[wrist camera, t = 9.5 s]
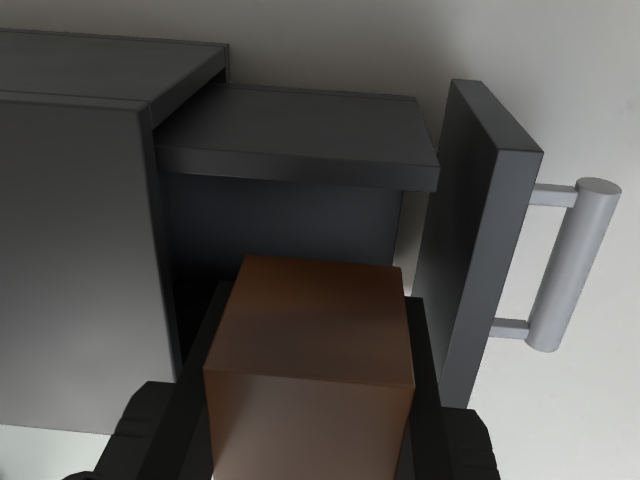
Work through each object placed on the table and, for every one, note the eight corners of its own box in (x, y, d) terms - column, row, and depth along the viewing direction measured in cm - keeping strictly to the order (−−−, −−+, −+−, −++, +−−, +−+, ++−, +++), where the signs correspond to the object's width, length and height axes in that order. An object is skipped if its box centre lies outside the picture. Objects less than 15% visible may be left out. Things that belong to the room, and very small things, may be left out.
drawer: (590, 88, 19) (713, 164, 12) (515, 315, 25) (571, 449, 18) (143, 57, 20) (32, 113, 13) (173, 285, 26) (106, 405, 19)
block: (401, 265, 14) (416, 387, 10) (382, 377, 16) (388, 511, 12) (245, 252, 14) (201, 367, 10) (248, 365, 16) (213, 493, 13)
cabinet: (229, 42, 20) (137, 110, 12) (239, 289, 27) (184, 443, 18) (-114, 19, 21) (-430, 67, 12) (-22, 267, 27) (-189, 406, 19)
